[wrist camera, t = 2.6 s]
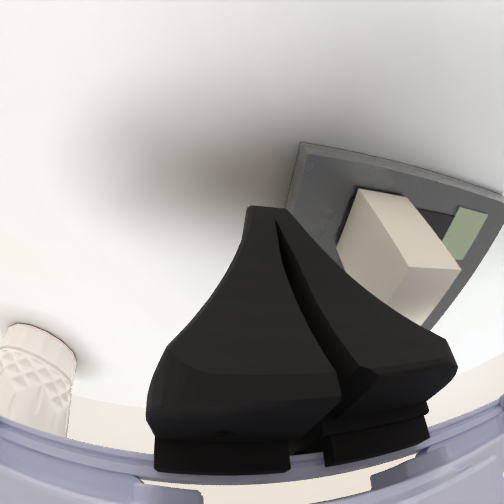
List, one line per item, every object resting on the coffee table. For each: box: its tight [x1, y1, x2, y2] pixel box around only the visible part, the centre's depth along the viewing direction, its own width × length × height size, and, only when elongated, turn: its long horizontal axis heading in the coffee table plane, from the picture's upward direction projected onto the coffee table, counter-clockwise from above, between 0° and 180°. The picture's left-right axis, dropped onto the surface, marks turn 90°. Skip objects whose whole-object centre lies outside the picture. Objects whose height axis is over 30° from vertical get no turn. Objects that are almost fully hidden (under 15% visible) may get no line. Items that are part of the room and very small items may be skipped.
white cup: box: [0, 323, 77, 438], centre depth 16 cm, size 8×8×10 cm
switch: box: [336, 188, 461, 326], centre depth 11 cm, size 2×3×4 cm
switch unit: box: [285, 142, 504, 331], centre depth 16 cm, size 13×15×1 cm
